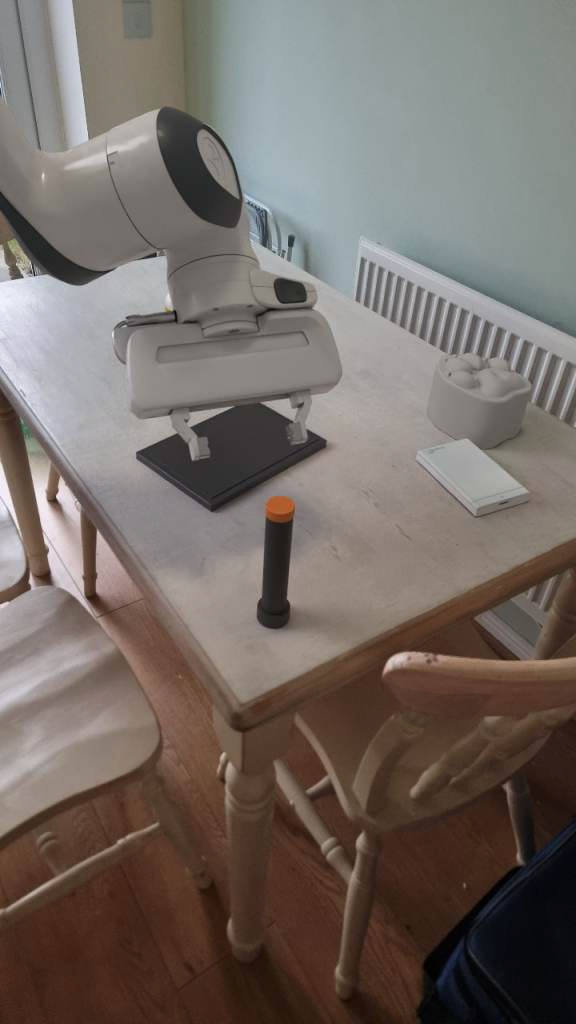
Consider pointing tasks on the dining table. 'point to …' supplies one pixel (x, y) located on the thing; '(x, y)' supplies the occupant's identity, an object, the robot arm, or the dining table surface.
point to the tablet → (230, 454)
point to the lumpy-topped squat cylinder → (478, 399)
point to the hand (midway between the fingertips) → (251, 450)
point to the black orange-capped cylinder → (276, 562)
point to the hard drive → (472, 477)
